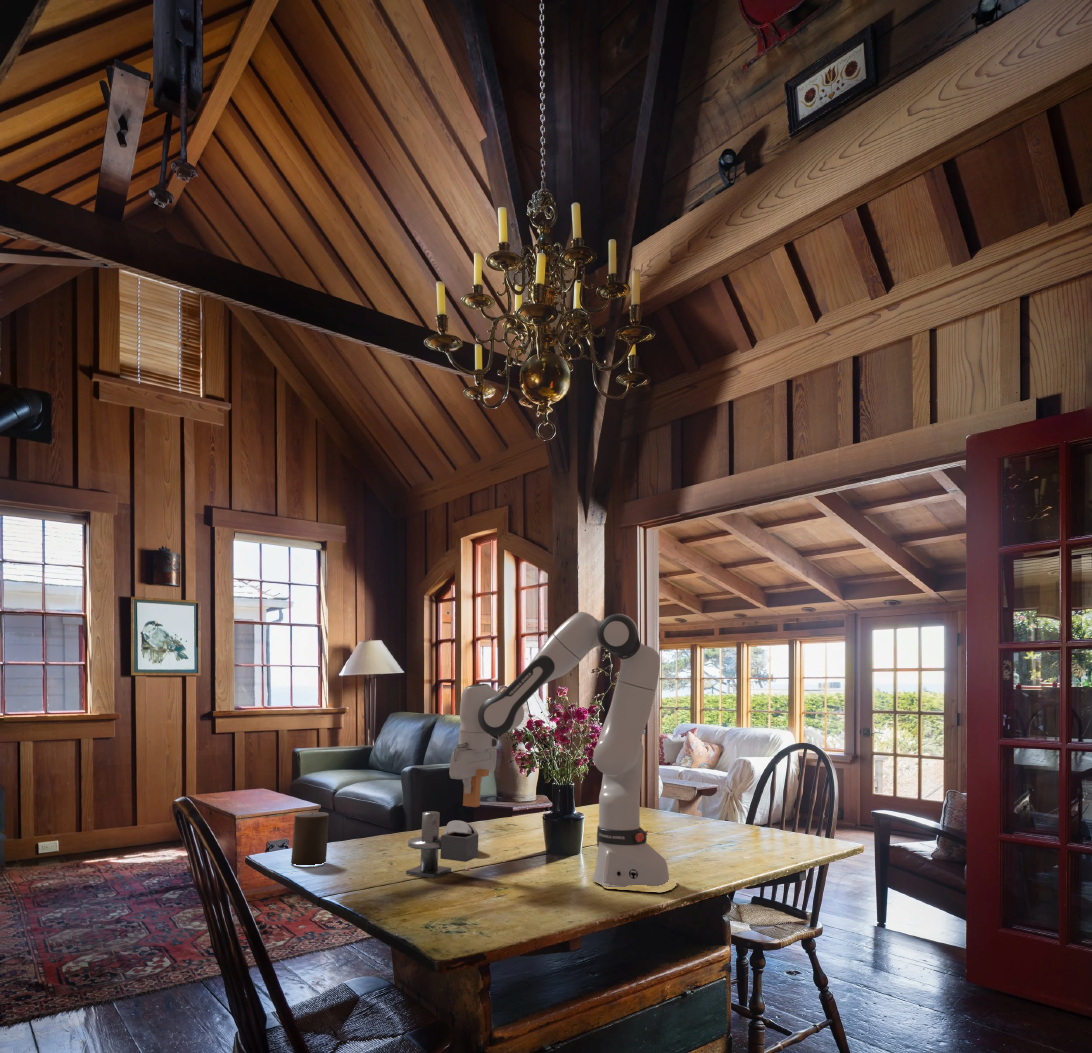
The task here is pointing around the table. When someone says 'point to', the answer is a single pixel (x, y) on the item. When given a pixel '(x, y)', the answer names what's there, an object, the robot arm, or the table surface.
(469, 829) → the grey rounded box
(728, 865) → the table surface
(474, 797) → the orange t-shaped block
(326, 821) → the pillar candle
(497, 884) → the table surface
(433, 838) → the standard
